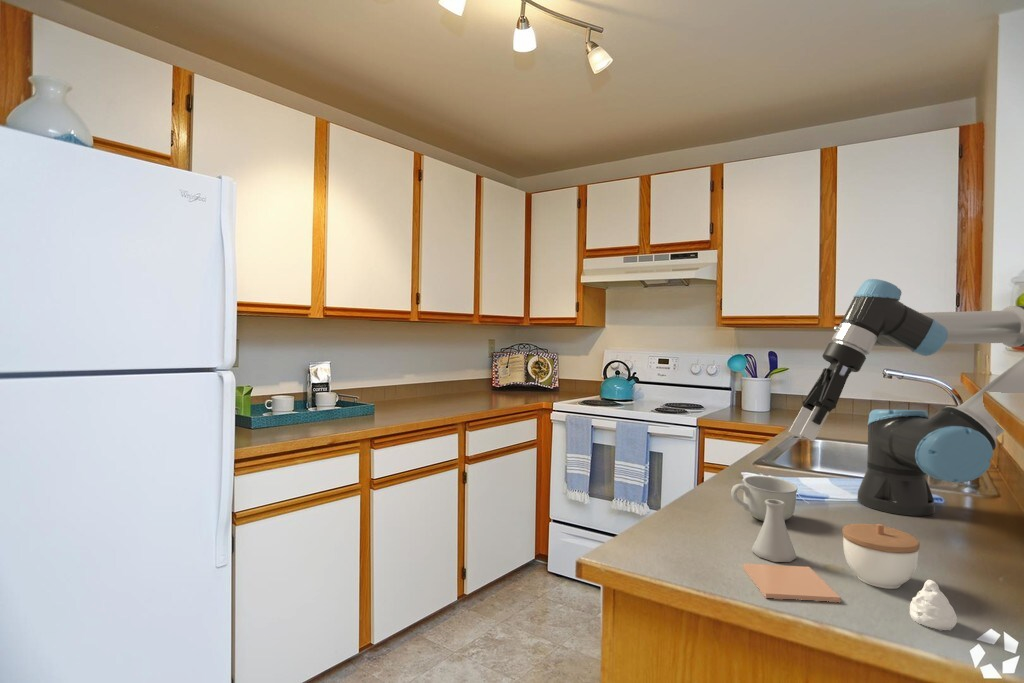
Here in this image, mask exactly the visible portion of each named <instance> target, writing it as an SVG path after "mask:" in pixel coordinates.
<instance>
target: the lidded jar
mask: <svg viewBox="0 0 1024 683" xmlns="http://www.w3.org/2000/svg"><path fill="white" fill-rule="evenodd" d="M841 534H842V536H843V537H842V546H843V547H842V548H843V553H844V558H845V560H846V563H847V565H848V566H849V568H850V569H851V571H852V572H853V573H854V574H855V575H856V576H857V579H858V581H860V582H863V583H864V584H866V585H870V586H872V587H876V588H879V589H886V590H896V589H899V588H901V586H902V585H903V584H905V583H907V582H909V580H910V579H911V578H913V575H914V574H915V572H916V569H917V567H918V561H919V549H920V546H921V543H920V541H919V540H918V538H917V537H916V536H914V535H912V534H910V533H908V532H906V531H902V530H900V529H897V528H894V527H889V526H886V525H885V524H882V523H876V524H872V523H871V524H870V523H850V524H847V525H844V526H843V527H842V533H841Z"/></svg>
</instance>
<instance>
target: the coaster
mask: <svg viewBox="0 0 1024 683" xmlns="http://www.w3.org/2000/svg"><path fill="white" fill-rule="evenodd" d="M742 569H743V570H744V571H746V572H745V573H746V574H747V576H748V575H749V576H748V577H749V578H750V580H751V579H752V580H753V581H752V580H751V581H752V582H753V584H754V583H755V584H756V585H755V584H754V585H755V586H756V587H758V588H759V589H760V590H759V589H758V588H757V589H758V590H759V592H760V591H761V592H762V593H761V592H760V593H761V595H762V596H763V595H764V596H765V597H764V596H763V597H764V598H765V599H766V598H774V599H773V600H783V599H796V600H795V601H798V600H797V599H800V600H799V601H801V599H802V600H815V601H814V602H819V601H827V602H826V603H837V602H839V603H841V596H840V595H839V594H838V593H837V592H836V591H834V589H833V588H831V587H830V586H829V585H828V583H826V581H825V580H824V579H822V578H821V577H820V575H818V574H817V573H816V572H815V571H814V570H813V569H812V568H811V567H810V566H799V565H779V564H762V563H761V564H760V563H758V564H757V563H742ZM816 600H817V601H816ZM828 601H829V602H828Z"/></svg>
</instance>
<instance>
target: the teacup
mask: <svg viewBox="0 0 1024 683" xmlns="http://www.w3.org/2000/svg"><path fill="white" fill-rule="evenodd" d="M743 483H744V484H743ZM743 483H736V484H734V485H733V486H732V488H731V491H730V494H731V498H732V499H733V500H734V502H736V503H737V504H738V505H740V506H742V508H743V509H744V510H745V511H747V512H748V513H749V514H750V515H751V516H752V518H754V519H756V520H759V521H761V522H764V520H765V516H766V511H767V504H765V500H768V499H776V500H780V501H783V502H784V503H785V506H784V507H783V515H784V521H787V520H788V519H791V517H793V515H794V513H795V511H796V503H797V492H798V486H796V484H795V483H792V482H790V481H788V480H784V479H782V478H777V477H772V476H764V475H751V476H746V477H744V479H743ZM739 490H742V491H743V496H742V497H743V500H741V499H740V498H739V497H738V495H737V494H738V491H739Z"/></svg>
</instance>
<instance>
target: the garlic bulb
mask: <svg viewBox="0 0 1024 683" xmlns="http://www.w3.org/2000/svg"><path fill="white" fill-rule="evenodd" d="M956 614H957V613H956V612H955V610H954V607H953V606H952V605H951V604H950V602H949V599H948V598H947V597H946V595H945V594H944V593H943V592H942V590H940V587H939V584H938V583H936V581H934V580H932V579H927V580H926V581H925V582H924V584H923V587H922V589H921V590H919V591H918V592H917V593H916V595H915V596H914V597H912V599H911V601H910V604H909V616H910V617H911V619H912V620H913V621H914V622H915V621H916V622H915V623H916V624H918V623H919V624H918V625H920V624H922V625H925V626H928V627H931V628H935V629H942V630H950V631H952V630H953V628H954V627H956V625H957V623H958V616H957V615H956ZM922 625H921V626H922ZM925 626H924V627H925ZM928 627H927V628H928ZM931 628H930V629H931ZM935 629H934V630H935ZM951 629H952V630H951ZM942 630H941V631H942Z"/></svg>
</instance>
